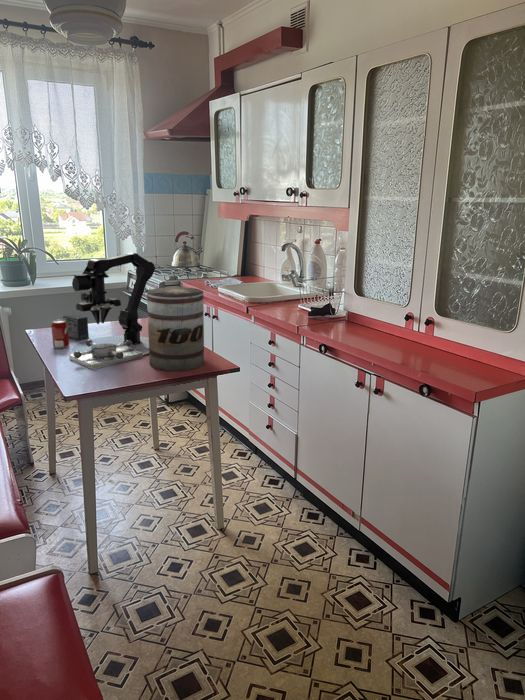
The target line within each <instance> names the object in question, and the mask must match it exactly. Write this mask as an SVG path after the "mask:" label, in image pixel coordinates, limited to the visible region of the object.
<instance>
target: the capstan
mask: <svg viewBox="0 0 525 700" xmlns="http://www.w3.org/2000/svg"><path fill="white" fill-rule="evenodd" d="M85 346H86V347H91V348H90V350H89V349H88V350H85V351H79V350H77V351H74V352H73V354H74V357H75V358H80V357H81V356H82V355H87V354H91V353H92V355H93V356H95V357H109V356H113V355H116V357H117V358H118V359H122V358H123V356H124V355H123V353H122V352H116V348H118V347H123V346H126V347H129V348H131V347H132V346H133V345H132V342H131V341H130V340H127V341H126V342H125V343H123V342H122V343H121V342H120V343H117V345H116V344H114V343H108V342H107V343H104V342H103V343H98V344H97V343H94V341H93V340H92V339H86V341H85Z"/></svg>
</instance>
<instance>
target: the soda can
mask: <svg viewBox="0 0 525 700" xmlns="http://www.w3.org/2000/svg"><path fill="white" fill-rule="evenodd" d="M50 326H51V327H50V328H51V337H52V346H53V348H55V349H66V348H68V347H69V346H70V338H69V336H68V325H67V323H66V321H65V320H63V319H54V320H52V323H51V325H50Z"/></svg>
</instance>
